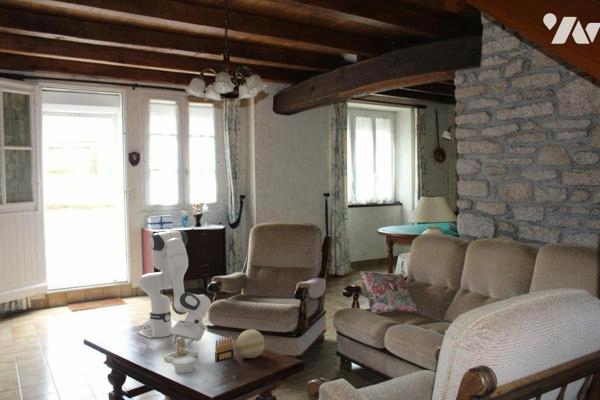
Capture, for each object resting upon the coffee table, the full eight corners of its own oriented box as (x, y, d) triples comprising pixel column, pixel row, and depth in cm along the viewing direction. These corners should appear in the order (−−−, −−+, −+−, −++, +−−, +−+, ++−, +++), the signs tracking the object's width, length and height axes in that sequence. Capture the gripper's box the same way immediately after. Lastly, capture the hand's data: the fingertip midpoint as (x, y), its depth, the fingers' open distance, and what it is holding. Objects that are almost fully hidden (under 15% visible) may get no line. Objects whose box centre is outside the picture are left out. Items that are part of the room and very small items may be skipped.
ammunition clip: (216, 362, 268) (216, 340, 268) (214, 362, 270) (214, 339, 269) (234, 358, 275) (233, 336, 274) (232, 357, 276) (231, 335, 276)
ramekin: (188, 364, 267) (188, 354, 267) (200, 369, 259) (200, 359, 259) (169, 370, 259) (168, 359, 259) (180, 375, 251) (180, 365, 251)
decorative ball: (251, 364, 265) (250, 335, 264) (231, 358, 274) (230, 330, 273) (270, 356, 276) (270, 329, 276) (250, 351, 286) (250, 324, 285)
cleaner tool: (174, 358, 274) (173, 340, 273) (183, 354, 280) (183, 336, 279) (178, 359, 272) (177, 341, 272) (187, 355, 278) (187, 337, 278)
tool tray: (163, 360, 273) (163, 356, 272) (183, 352, 285) (183, 348, 285) (177, 364, 267) (177, 359, 267) (197, 356, 279) (197, 351, 279)
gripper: (176, 316, 287) (163, 338, 279) (202, 321, 275) (190, 345, 268) (182, 322, 290) (169, 344, 283) (208, 328, 279) (196, 351, 271)
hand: (179, 344), depth 275 cm, fingers open, 8 cm apart
